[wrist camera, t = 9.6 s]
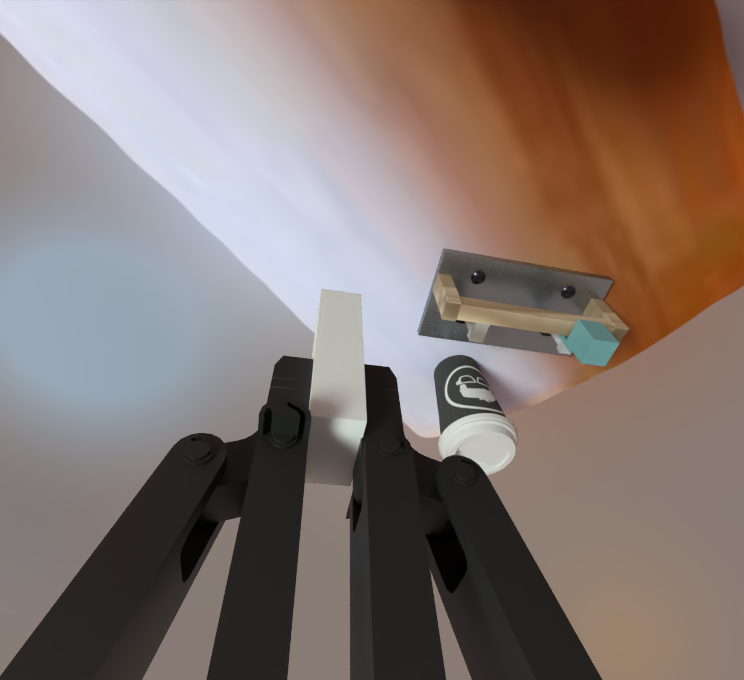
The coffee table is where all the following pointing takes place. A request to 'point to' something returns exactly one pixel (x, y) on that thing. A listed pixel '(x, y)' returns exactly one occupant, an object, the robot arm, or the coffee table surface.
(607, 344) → the slider block
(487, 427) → the coffee cup
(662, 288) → the coffee table surface
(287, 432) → the robot arm
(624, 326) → the wooden rail
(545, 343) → the bolt plate
